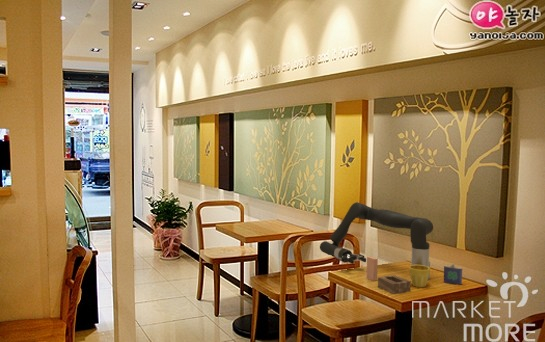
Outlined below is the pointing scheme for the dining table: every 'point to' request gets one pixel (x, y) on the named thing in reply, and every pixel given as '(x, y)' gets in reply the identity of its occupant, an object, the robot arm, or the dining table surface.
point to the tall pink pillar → (372, 268)
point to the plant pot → (419, 275)
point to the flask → (453, 275)
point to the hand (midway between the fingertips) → (359, 261)
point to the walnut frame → (394, 284)
